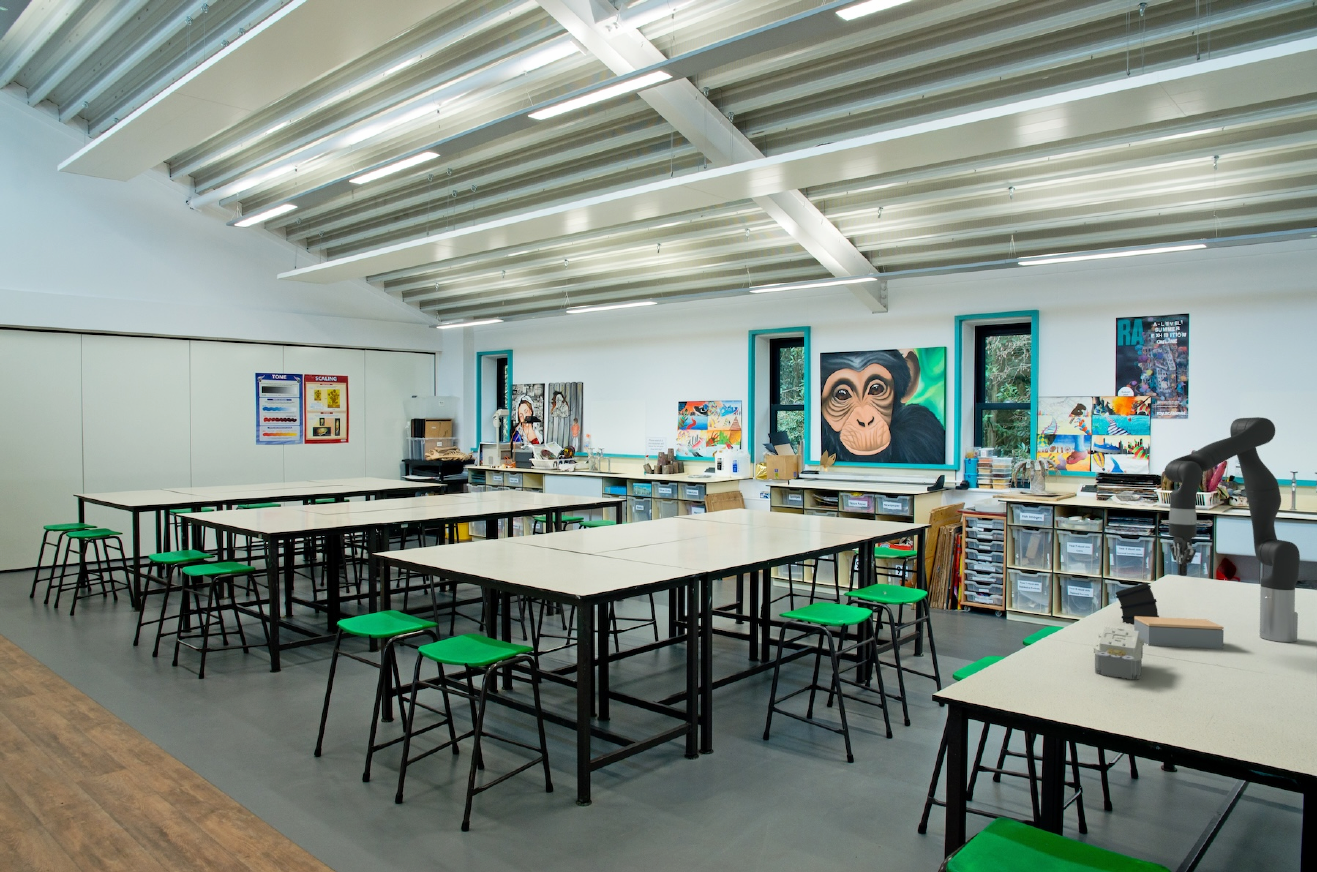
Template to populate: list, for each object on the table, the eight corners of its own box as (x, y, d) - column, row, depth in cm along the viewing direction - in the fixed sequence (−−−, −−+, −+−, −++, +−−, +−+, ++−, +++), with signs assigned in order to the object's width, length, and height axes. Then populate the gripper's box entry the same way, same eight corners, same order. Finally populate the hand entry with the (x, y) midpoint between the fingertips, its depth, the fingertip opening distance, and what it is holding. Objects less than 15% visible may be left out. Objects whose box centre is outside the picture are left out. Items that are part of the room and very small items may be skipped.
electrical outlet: (1145, 659, 243) (1145, 626, 242) (1139, 691, 219) (1140, 654, 218) (1100, 653, 249) (1101, 621, 248) (1090, 682, 225) (1091, 647, 225)
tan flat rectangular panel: (1205, 621, 269) (1205, 619, 269) (1223, 629, 258) (1223, 626, 258) (1134, 618, 272) (1134, 616, 272) (1149, 625, 261) (1149, 623, 261)
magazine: (1167, 624, 284) (1147, 583, 288) (1128, 634, 291) (1109, 594, 295) (1169, 622, 287) (1148, 581, 291) (1130, 632, 294) (1110, 593, 298)
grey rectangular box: (1205, 640, 269) (1205, 622, 269) (1223, 648, 258) (1223, 630, 258) (1134, 636, 272) (1134, 618, 272) (1148, 645, 261) (1149, 626, 261)
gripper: (1205, 524, 257) (1205, 579, 257) (1185, 520, 270) (1184, 572, 270) (1180, 524, 258) (1179, 578, 258) (1160, 519, 271) (1160, 571, 271)
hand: (1182, 575), depth 264 cm, fingers closed
